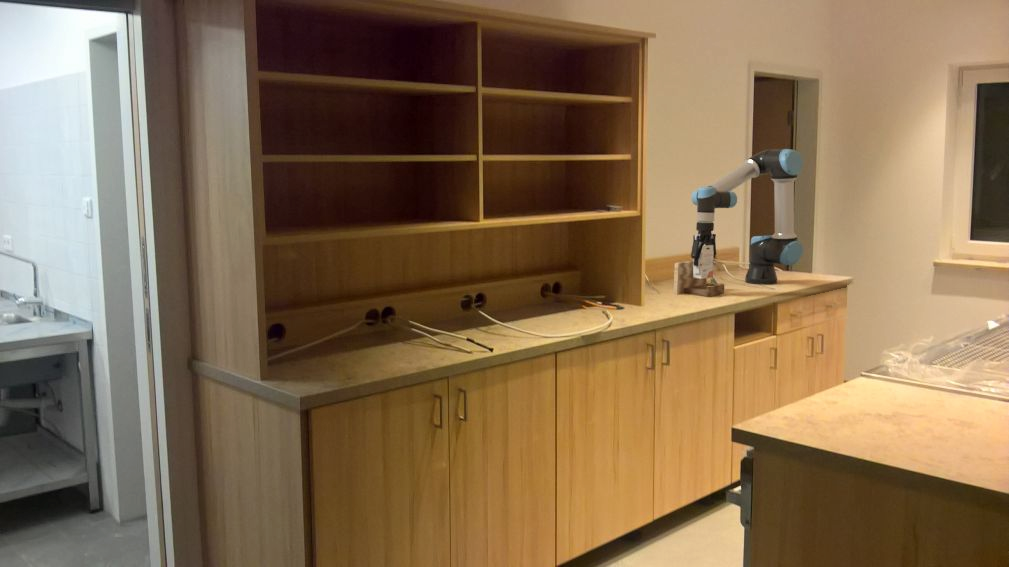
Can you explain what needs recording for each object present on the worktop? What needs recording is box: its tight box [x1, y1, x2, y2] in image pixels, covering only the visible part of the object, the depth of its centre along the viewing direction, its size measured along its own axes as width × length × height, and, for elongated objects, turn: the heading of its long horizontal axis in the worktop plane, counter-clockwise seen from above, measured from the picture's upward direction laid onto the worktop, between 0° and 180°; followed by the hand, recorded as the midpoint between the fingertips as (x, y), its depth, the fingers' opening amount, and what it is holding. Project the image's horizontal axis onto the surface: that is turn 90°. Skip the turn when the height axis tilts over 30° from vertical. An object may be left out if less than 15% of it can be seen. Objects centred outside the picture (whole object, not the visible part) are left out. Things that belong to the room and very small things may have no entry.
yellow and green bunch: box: [706, 276, 719, 286], centre depth 407 cm, size 10×18×15 cm, turn 47°
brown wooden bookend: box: [673, 260, 725, 298], centre depth 380 cm, size 22×15×14 cm
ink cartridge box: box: [693, 245, 714, 279], centre depth 379 cm, size 9×5×15 cm, turn 131°
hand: (702, 272), depth 379 cm, fingers closed on ink cartridge box, 9 cm apart
